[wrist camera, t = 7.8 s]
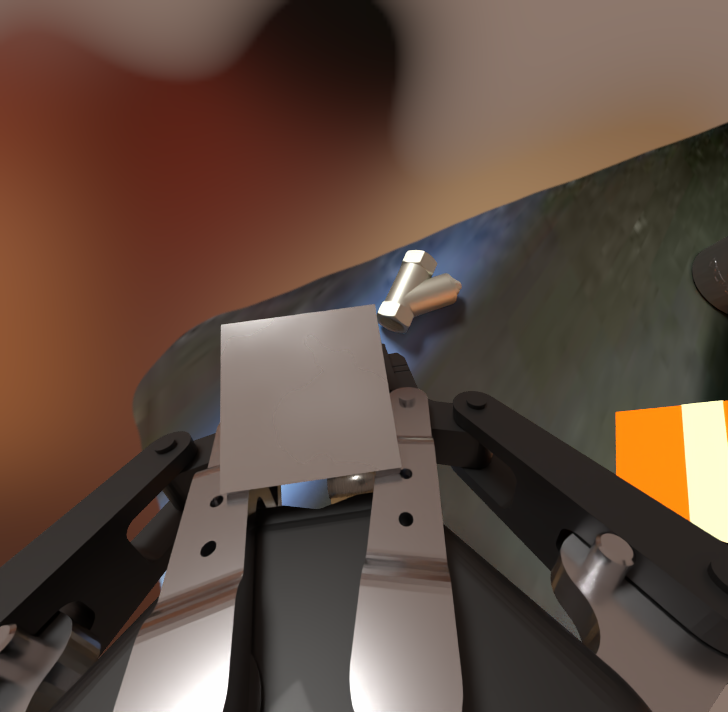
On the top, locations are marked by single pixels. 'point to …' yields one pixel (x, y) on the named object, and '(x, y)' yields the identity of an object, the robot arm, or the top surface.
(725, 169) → the top surface
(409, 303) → the pipe fitting
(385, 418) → the square grey block
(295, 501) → the top surface
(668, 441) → the orange juice
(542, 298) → the top surface
